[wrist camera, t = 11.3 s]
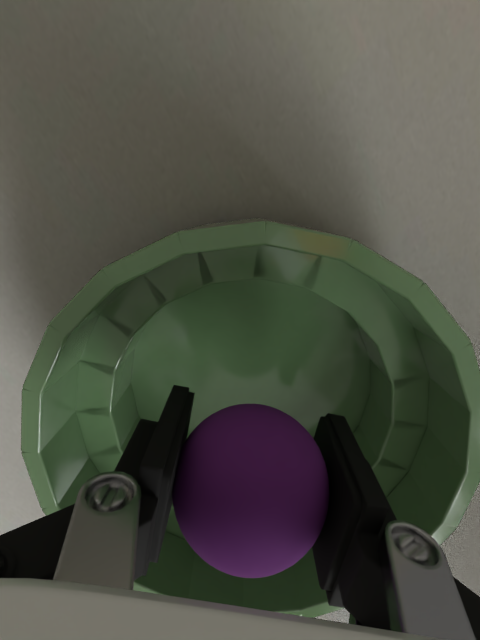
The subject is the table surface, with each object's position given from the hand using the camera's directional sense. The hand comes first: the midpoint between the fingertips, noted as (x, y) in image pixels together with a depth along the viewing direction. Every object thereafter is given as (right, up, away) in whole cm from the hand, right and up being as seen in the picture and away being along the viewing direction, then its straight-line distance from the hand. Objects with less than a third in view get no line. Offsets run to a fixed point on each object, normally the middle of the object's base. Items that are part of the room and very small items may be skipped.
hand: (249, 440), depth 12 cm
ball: (0, 0, 0) cm, 0 cm away
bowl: (0, +1, +4) cm, 4 cm away
